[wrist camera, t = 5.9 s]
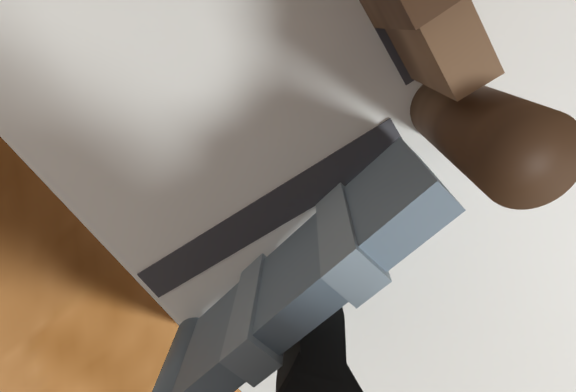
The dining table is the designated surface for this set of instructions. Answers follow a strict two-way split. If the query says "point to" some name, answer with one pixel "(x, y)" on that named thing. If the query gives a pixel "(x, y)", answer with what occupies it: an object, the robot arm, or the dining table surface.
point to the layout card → (294, 168)
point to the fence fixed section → (477, 104)
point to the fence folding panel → (312, 275)
